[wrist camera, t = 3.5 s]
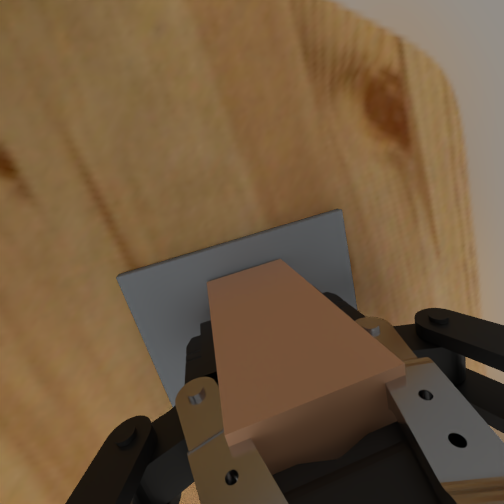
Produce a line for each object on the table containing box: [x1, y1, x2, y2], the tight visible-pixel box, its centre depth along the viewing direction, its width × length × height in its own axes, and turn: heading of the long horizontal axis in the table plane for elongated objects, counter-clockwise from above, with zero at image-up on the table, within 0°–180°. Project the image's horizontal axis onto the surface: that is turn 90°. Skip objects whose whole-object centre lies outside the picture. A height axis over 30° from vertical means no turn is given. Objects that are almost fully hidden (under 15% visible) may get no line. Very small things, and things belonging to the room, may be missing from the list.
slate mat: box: [116, 209, 357, 407], centre depth 18 cm, size 29×12×1 cm, turn 15°
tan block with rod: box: [207, 259, 406, 475], centre depth 12 cm, size 18×4×9 cm, turn 15°
